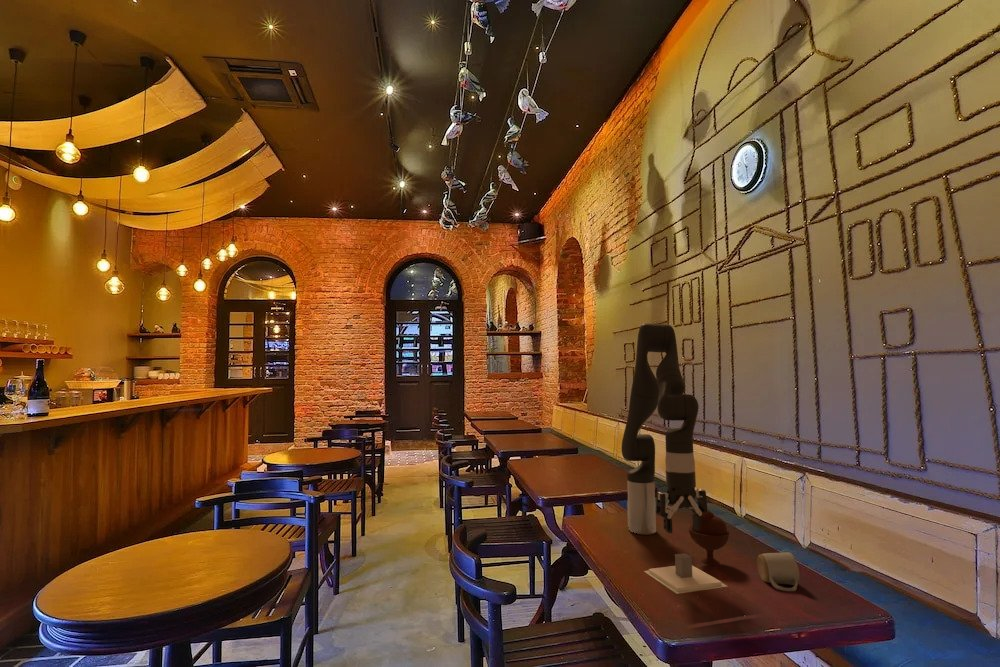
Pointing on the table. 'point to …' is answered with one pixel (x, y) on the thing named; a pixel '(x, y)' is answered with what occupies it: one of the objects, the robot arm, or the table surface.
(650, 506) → the robot arm
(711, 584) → the cover board
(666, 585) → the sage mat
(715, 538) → the ice cream bowl
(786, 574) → the ceramic mug
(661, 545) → the table surface
